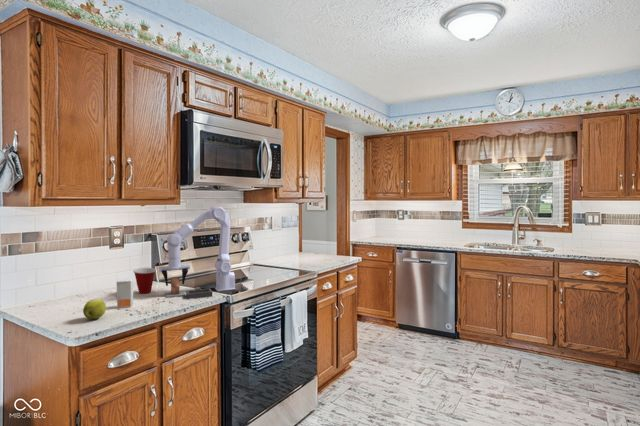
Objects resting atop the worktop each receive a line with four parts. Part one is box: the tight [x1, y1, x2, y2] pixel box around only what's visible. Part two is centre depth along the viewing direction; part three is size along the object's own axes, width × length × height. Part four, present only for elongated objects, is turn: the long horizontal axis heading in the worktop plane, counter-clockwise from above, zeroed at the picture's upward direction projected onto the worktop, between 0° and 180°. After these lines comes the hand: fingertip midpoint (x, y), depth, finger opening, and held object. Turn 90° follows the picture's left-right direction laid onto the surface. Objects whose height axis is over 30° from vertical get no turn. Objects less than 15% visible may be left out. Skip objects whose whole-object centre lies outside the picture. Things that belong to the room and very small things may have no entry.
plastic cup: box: [133, 267, 157, 295], centre depth 211 cm, size 11×11×12 cm
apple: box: [82, 298, 107, 320], centre depth 167 cm, size 8×9×8 cm
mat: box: [164, 290, 187, 299], centre depth 206 cm, size 9×9×1 cm
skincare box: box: [116, 278, 134, 309], centre depth 185 cm, size 6×4×12 cm
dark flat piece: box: [185, 286, 213, 300], centre depth 204 cm, size 12×9×3 cm
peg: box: [170, 276, 180, 295], centre depth 206 cm, size 4×4×8 cm
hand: (175, 284), depth 206 cm, fingers open, 7 cm apart
